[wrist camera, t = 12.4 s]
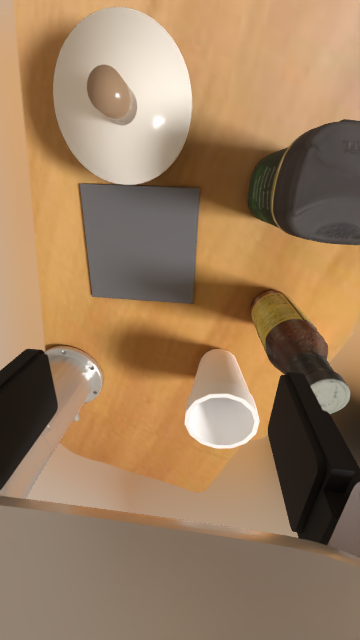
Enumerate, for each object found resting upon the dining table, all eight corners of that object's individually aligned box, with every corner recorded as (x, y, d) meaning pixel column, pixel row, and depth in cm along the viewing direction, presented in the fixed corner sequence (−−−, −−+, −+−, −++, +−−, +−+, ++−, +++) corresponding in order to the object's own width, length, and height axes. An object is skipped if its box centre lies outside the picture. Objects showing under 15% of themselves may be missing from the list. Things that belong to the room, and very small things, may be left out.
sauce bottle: (242, 318, 42) (267, 410, 24) (261, 282, 39) (305, 355, 21) (280, 332, 42) (333, 434, 24) (302, 298, 39) (379, 383, 21)
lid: (189, 187, 30) (185, 185, 25) (68, 183, 31) (41, 180, 26) (196, 12, 24) (192, -36, 19) (46, 15, 25) (6, -30, 20)
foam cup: (183, 376, 48) (175, 435, 36) (201, 333, 44) (198, 384, 32) (233, 392, 48) (241, 456, 36) (255, 351, 44) (272, 408, 32)
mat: (192, 302, 41) (192, 303, 41) (93, 295, 43) (92, 296, 42) (199, 188, 35) (199, 188, 34) (81, 183, 36) (79, 183, 36)
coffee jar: (242, 220, 36) (270, 241, 19) (254, 151, 32) (302, 103, 16) (315, 228, 35) (410, 257, 19) (336, 159, 32) (475, 118, 15)
